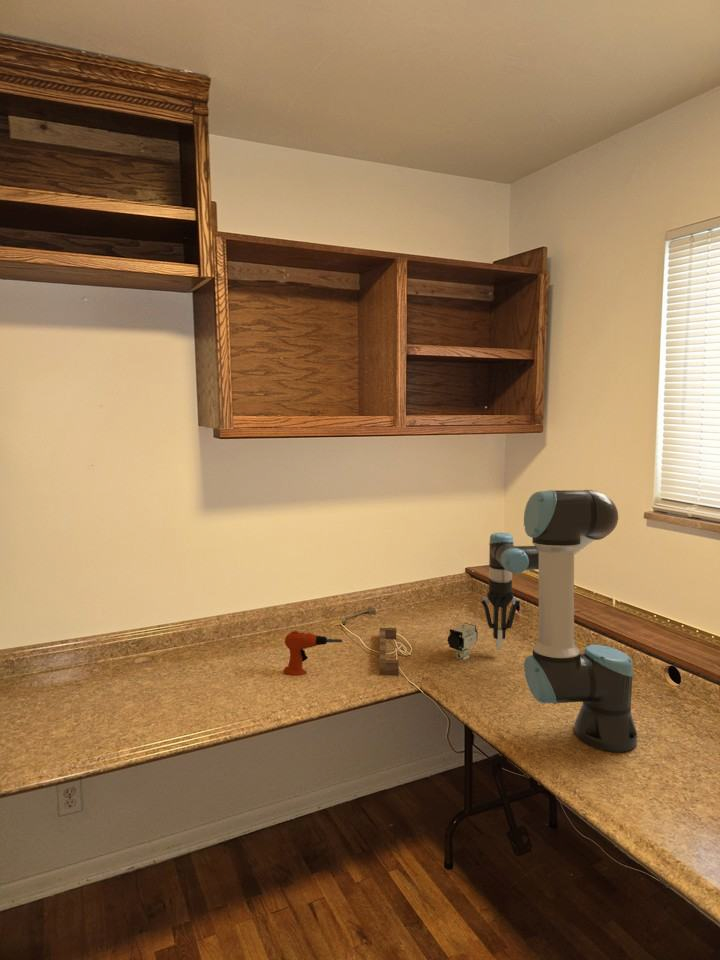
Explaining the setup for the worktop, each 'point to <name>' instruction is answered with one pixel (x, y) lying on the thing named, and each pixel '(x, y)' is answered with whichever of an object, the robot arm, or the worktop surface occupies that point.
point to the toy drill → (301, 650)
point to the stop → (385, 665)
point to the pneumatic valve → (462, 639)
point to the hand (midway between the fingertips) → (499, 647)
